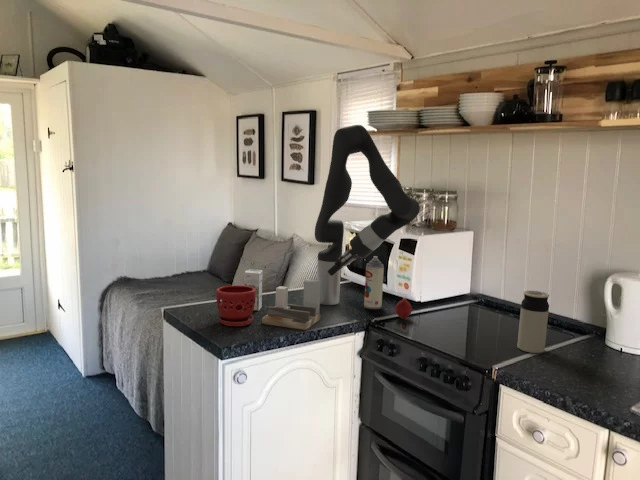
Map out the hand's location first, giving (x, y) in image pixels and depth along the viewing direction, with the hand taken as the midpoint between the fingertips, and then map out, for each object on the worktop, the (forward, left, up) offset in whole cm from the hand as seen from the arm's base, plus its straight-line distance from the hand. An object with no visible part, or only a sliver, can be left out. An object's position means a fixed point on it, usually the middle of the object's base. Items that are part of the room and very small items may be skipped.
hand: (329, 273), depth 180 cm
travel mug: (-7, +65, -19) cm, 68 cm away
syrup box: (-8, -32, -19) cm, 38 cm away
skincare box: (-14, -11, -19) cm, 26 cm away
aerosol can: (-32, +8, -19) cm, 38 cm away
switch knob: (0, -17, -16) cm, 24 cm away
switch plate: (0, -13, -18) cm, 23 cm away
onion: (-21, +22, -19) cm, 36 cm away
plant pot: (+10, -30, -19) cm, 36 cm away
